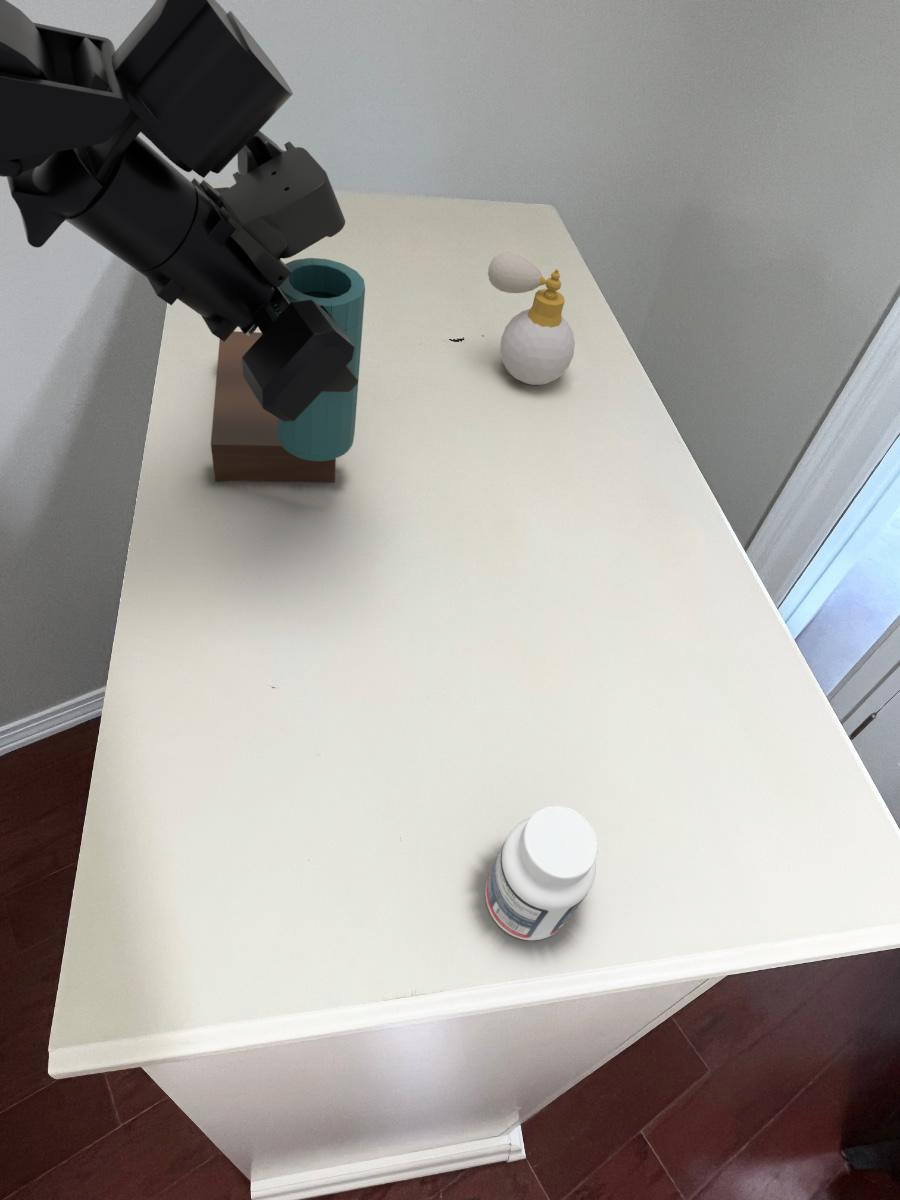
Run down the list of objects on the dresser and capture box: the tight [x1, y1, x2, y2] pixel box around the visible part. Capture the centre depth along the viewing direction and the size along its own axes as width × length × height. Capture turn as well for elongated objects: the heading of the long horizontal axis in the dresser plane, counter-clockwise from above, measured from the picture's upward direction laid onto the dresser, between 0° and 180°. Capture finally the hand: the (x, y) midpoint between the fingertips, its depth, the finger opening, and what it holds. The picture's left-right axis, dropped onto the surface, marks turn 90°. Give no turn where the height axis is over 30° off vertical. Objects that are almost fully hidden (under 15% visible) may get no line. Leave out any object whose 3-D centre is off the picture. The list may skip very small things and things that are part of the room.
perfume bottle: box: [487, 252, 576, 386], centre depth 78 cm, size 8×10×12 cm
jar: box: [276, 257, 366, 461], centre depth 57 cm, size 6×6×13 cm
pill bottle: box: [485, 805, 599, 941], centre depth 45 cm, size 5×5×9 cm
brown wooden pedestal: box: [210, 330, 337, 484], centre depth 71 cm, size 16×10×4 cm, turn 7°
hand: (335, 361), depth 57 cm, fingers closed on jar, 6 cm apart
